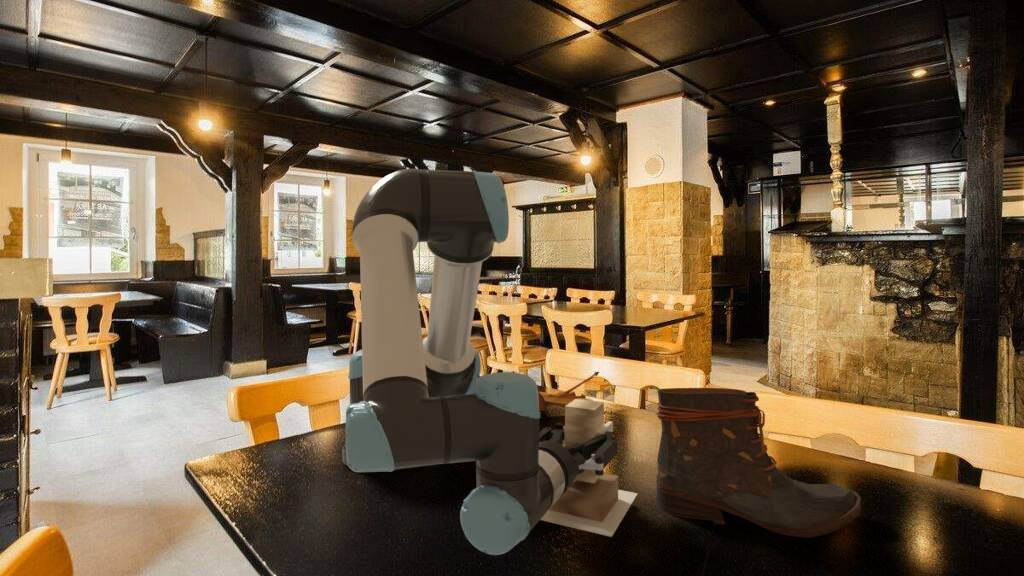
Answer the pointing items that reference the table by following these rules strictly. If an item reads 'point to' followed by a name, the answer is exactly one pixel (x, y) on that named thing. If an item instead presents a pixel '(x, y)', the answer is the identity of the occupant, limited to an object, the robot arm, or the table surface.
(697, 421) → the ankle boot
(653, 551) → the table surface
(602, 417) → the column
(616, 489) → the plinth
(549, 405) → the toy
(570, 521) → the white flat panel
